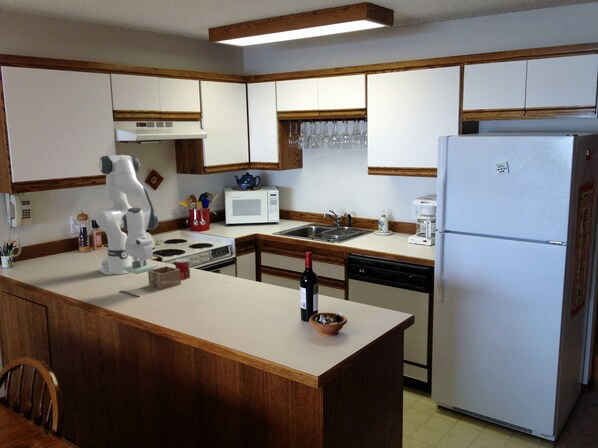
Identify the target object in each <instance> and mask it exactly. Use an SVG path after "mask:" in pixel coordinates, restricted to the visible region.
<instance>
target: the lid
mask: <svg viewBox="0 0 598 448" xmlns="http://www.w3.org/2000/svg"><path fill="white" fill-rule="evenodd" d="M139 263H140V260H139V259H138V261H134V260H133V261H132V265H130V266H125V267H122V269H124V270H127V272H129V273H132V274H135V275H139V274H143V273H145V272H146V273H147V272H148V271H151V270H153V269H157V268H158V265H156V264H153V263H147V260H146V259H144V262H143V266H139Z"/></svg>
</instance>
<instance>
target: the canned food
mask: <svg viewBox="0 0 598 448" xmlns="http://www.w3.org/2000/svg"><path fill="white" fill-rule="evenodd" d="M174 262H175V263H174V265H175V266H174V268H176V269H180V276H181V280H188V279H191V267H190V264H191V263H190V259H189V258H177V259H175V260H174Z"/></svg>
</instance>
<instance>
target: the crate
mask: <svg viewBox="0 0 598 448" xmlns="http://www.w3.org/2000/svg"><path fill="white" fill-rule="evenodd" d="M147 272H148V273H147V275H148V287H149V286H150V287H153V288H157V289H160V290H167V289H170V288H173V287H176V286H177V287H178V286H180V285H181V284H182V281H181V280H182V279H181V276H180V269H176V268H175V267H172V266H168V265H167V266H166V265H165V266H162V267H156V268H153V270H151V271H147Z"/></svg>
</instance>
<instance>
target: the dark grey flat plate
mask: <svg viewBox="0 0 598 448" xmlns="http://www.w3.org/2000/svg"><path fill="white" fill-rule="evenodd" d="M118 292H119V293H121V294H124V295H127V296H130V297H134V298H139V297H141V296H140V295H136V294H134V293H132V292H128V291H124V290H120V291H118Z"/></svg>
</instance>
